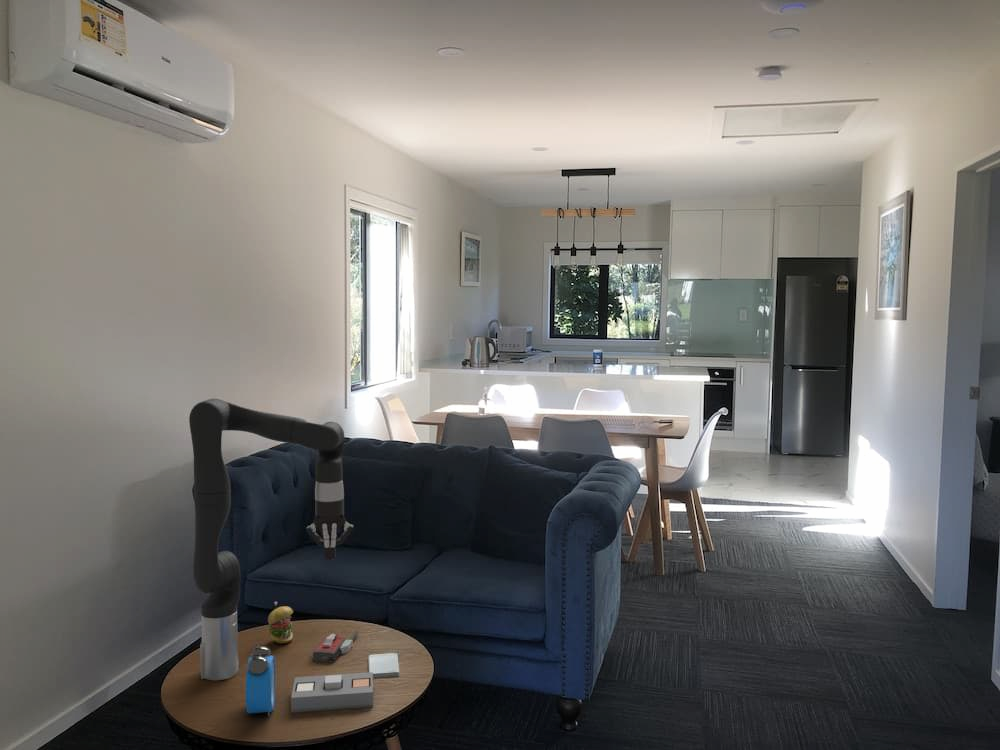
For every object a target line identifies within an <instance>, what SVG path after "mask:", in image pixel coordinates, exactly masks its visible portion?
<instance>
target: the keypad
mask: <svg viewBox="0 0 1000 750" xmlns="http://www.w3.org/2000/svg"><path fill="white" fill-rule="evenodd" d="M331 675H332V674H325V675H324V674H323V675H310V676H309V675H308V676H297V677H294V682H293V684H292V685H293V686H292V691H291V695H290V708H291V709H290V713H302V712H317V711H330V710H331V711H332V710H344V709H358V708H371V707H372V708H373V707H374V678H373V672H369V671H368V672H356V673H342V674H341V673H340V674H339V673H338V674H336V675H341V680H342V687H341V688H340V689H326V690H325V677H326V676H331ZM360 679H369V687H354V688H353V680H360ZM305 683H314V690H311V691H297V686H298V684H305ZM296 691H297V692H296Z"/></svg>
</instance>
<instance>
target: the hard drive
mask: <svg viewBox="0 0 1000 750" xmlns="http://www.w3.org/2000/svg"><path fill="white" fill-rule="evenodd" d="M398 656H399V655H398V653H396V652H389V653H377V654H370V655H368V672H373V679H374V678H385V677H400V668H399V667H400V666H399V659H398Z"/></svg>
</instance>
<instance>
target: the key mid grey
mask: <svg viewBox="0 0 1000 750" xmlns="http://www.w3.org/2000/svg"><path fill="white" fill-rule="evenodd" d="M330 675H331V676H326V677H325V690H326V689H340V688H341V687H342V680H341V675H337V674H330Z"/></svg>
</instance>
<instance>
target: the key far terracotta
mask: <svg viewBox="0 0 1000 750" xmlns="http://www.w3.org/2000/svg"><path fill="white" fill-rule="evenodd" d="M354 687H369V679H360V680H353V688H354Z"/></svg>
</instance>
